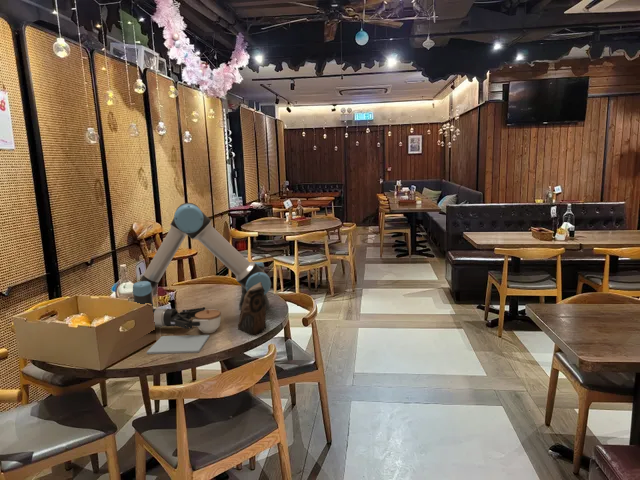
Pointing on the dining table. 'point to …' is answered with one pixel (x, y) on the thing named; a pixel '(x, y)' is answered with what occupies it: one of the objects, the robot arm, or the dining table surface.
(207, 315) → the lidded jar
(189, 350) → the mat
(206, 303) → the dining table surface
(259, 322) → the owl
